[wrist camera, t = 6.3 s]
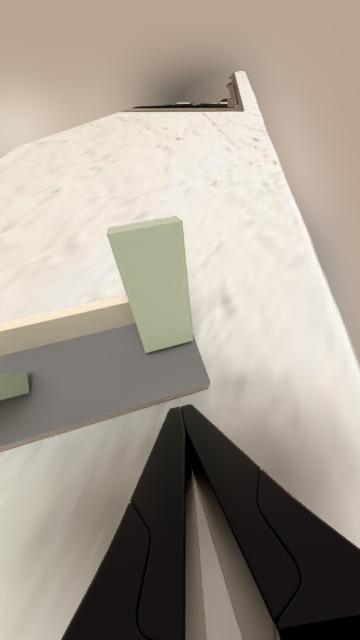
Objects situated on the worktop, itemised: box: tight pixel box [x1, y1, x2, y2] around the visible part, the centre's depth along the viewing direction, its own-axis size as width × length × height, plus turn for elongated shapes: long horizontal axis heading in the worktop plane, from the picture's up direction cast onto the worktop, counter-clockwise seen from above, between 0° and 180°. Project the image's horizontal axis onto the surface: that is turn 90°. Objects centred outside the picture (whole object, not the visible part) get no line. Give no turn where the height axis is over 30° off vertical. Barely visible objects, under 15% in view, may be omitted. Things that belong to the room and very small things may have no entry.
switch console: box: [0, 295, 210, 452], centre depth 15 cm, size 8×18×5 cm, turn 106°
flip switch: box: [107, 216, 193, 353], centre depth 14 cm, size 2×4×9 cm, turn 107°
